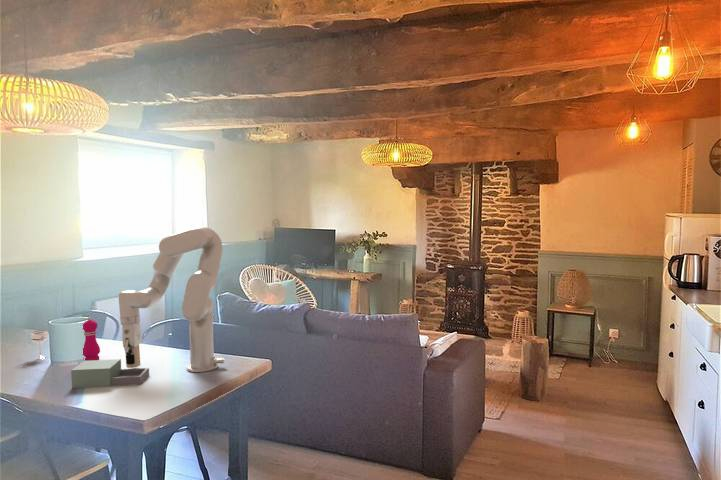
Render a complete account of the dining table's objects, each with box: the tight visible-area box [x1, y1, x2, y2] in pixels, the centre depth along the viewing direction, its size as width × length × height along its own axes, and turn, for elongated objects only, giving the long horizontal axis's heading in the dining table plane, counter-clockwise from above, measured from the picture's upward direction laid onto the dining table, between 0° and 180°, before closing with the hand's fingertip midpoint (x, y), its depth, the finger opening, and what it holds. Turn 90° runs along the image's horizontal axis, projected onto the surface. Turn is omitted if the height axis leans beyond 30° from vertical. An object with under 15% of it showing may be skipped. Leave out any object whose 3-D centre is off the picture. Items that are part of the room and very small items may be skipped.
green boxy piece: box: [70, 358, 150, 389], centre depth 201 cm, size 25×12×7 cm, turn 96°
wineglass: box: [30, 329, 49, 360], centre depth 235 cm, size 7×7×12 cm
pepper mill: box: [82, 316, 101, 361], centre depth 229 cm, size 7×7×20 cm
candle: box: [124, 344, 141, 369], centre depth 216 cm, size 6×6×10 cm
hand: (133, 361), depth 217 cm, fingers closed on candle, 5 cm apart
